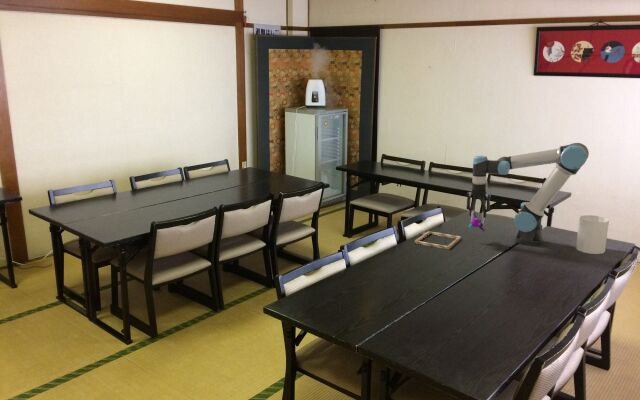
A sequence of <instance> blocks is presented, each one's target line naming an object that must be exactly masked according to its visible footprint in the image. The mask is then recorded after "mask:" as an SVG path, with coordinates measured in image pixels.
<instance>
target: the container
mask: <svg viewBox="0 0 640 400" xmlns="http://www.w3.org/2000/svg"><path fill="white" fill-rule="evenodd" d="M578 219H579V220H578V227H577V228H578V229H577V234H576V236H577V237H576V242H575V243H576V244H575V249H576V250H577V251H578V252H581V253H584V254H590V255H591V254H592V255H599V254H604V253H605V252H606V249H607V248H606V246H607V240H608V239H607V238H608V231H609V225H610V224H609V223H610V219H608V218H607V217H603V216H598V215H591V214H590V215H579V218H578Z"/></svg>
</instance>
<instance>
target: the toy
mask: <svg viewBox="0 0 640 400" xmlns="http://www.w3.org/2000/svg"><path fill="white" fill-rule="evenodd" d="M476 213H477V212H476V211H474V213H473V214H474V219H473V220H472V221H471V220H470V224H469V225H468V226H467V229H474V228H479V229H480V230H481V231H482V232H485V231H486V229H484V227H483V225H484V223H483V224H482V218H478V217H477V215H476Z"/></svg>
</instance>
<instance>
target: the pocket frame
mask: <svg viewBox="0 0 640 400" xmlns="http://www.w3.org/2000/svg"><path fill="white" fill-rule="evenodd" d="M430 234H432V235H431V236H436V235H437V236H436V237H444V238H448V239H449V238H450V239H454V240H453V241H451V243H449V244H447V245H444V244H437V243H433V242H432V243H431V242H426V241H422V240H424V239H425V238H426V237H428V236H430ZM419 235H421V236H419ZM427 235H428V236H427ZM418 236H419V237H417V238H416V239H415V240H414V241H413V243H416V244H417V245H420V244H421V246H425V247H426V246H428V247H431V246H432V248H438V249H444V250H450V249H452V248H453V246H455V245H456V244H457V243H458V242H460V241H461V240H462V235H461V236H460V235H454V234H448V233H443V232H435V231H429V230H428V231H427V232H426V231H421V232H419V234H418ZM423 238H424V239H423ZM420 240H421V241H420ZM416 244H415V245H416Z"/></svg>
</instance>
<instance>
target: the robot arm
mask: <svg viewBox="0 0 640 400" xmlns="http://www.w3.org/2000/svg"><path fill="white" fill-rule="evenodd" d="M589 152H590V151H589V149H588V147H587V146H586V145H585V144H583V143H580V142H574V143H569V144H566V145H562V146H561V145H560V146H559V147H558V148H554V149H548V150H541V151H534V152H528V153H523V154H516V155H510V156H501V157H499V158H498V159H497V160H496V159H495V160H492V159H491V160H490V159H488V156H486V155H475V156H474V157H473V161H472V162H473V163H472V181H471V182H472V185H471V192H470V191H469V192H467V193H466V197H467V198H466V210H467V211H469V217H470V222H471V221H472V220H473V219H474V214H473V213H474V212H475V210H474V206H475V204H476V201H477V200H480V204H481V207H482V212H481V223H482V224H483V225H484V223H485V218H486V217H487V212H488V213H489V212H490V209H491V197H492V194H491V193H487V191H486V190H487V174H489V175H490V174H492V175H501V176H502V175H508V174H509V173H510V170H511V171H512V170H515V169H522V168H523V169H524V168H528V167H529V168H530V167H536V166H537V167H538V166H544V165H551V164H552V165H553V164H555V167H554V168H553V170H552V171H551V172H550V174H549V175H548V176H547V178H546V179H545V181H544V182H543V184H542V185H541V187H539V189H538V190H537V192H536V193H535V194H534V195H533V197H532V199H531V200H530V201H524V202H522V203H520V210H519V211H518V212H517V213H516V214H515V216H514V219H513V223H514V226H515V228H516V229H517V231H516V234H515V236H514V241H515V242H516V243H518V244H521V245H526V246H540V245H542V244H543V239H544V238H543V236H542V220H543V217H544V216H545V213H544V211H545V210H546V209H547V207H548V206H549V205H550V203H551V202H552V201H553V200H554V199H555V197H556V195H557V194H558V193H559V192H560V190H562V187H563V186H564V185H565V183H566V182H567V181H568V180H569V178H571V176H575V175H577V173H578V172H579V171H580V169H582V167H583V166H585V164H586V162H587V160H588V158H589V154H590V153H589ZM471 196H472V197H473V198H472V201H471ZM485 197H486V203H485Z"/></svg>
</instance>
